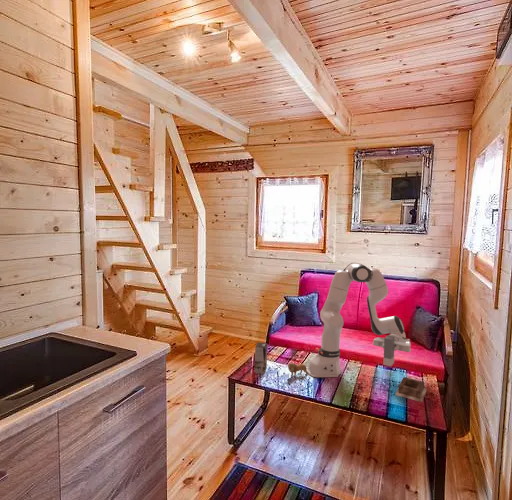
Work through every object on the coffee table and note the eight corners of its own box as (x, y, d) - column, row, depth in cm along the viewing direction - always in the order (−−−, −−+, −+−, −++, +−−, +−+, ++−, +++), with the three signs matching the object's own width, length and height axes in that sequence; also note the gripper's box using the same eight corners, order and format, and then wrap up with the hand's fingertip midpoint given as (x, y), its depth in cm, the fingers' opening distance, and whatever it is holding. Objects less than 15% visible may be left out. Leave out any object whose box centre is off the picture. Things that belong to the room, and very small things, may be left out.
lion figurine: (291, 380, 192) (291, 365, 191) (285, 376, 196) (285, 362, 195) (309, 374, 200) (310, 360, 199) (303, 371, 204) (304, 357, 204)
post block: (395, 394, 176) (395, 385, 176) (401, 384, 190) (401, 375, 189) (422, 402, 169) (422, 392, 169) (426, 390, 182) (426, 381, 182)
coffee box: (264, 374, 199) (265, 347, 198) (254, 372, 200) (254, 346, 200) (267, 368, 208) (267, 343, 207) (257, 367, 209) (257, 342, 209)
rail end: (383, 364, 184) (384, 338, 183) (386, 360, 190) (387, 335, 189) (391, 366, 182) (392, 339, 181) (394, 362, 188) (395, 336, 187)
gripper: (376, 333, 202) (370, 339, 190) (412, 339, 190) (408, 346, 179) (376, 343, 202) (369, 349, 191) (412, 350, 191) (408, 357, 179)
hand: (388, 348), depth 185 cm, fingers closed on rail end, 4 cm apart
